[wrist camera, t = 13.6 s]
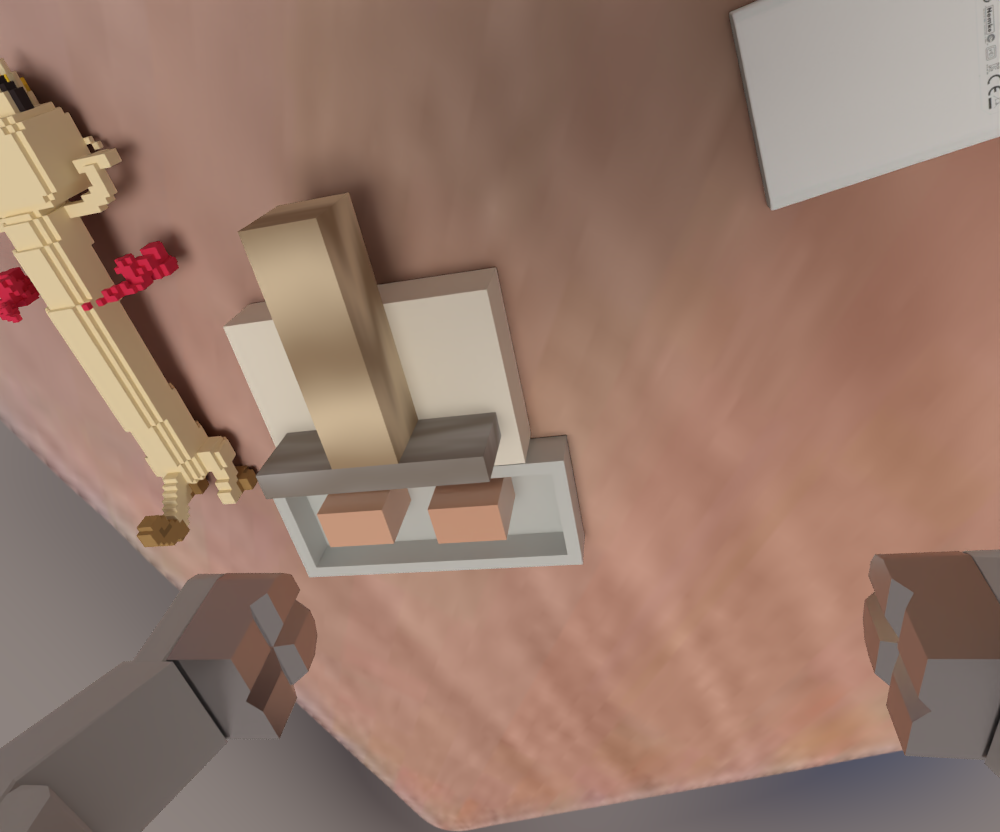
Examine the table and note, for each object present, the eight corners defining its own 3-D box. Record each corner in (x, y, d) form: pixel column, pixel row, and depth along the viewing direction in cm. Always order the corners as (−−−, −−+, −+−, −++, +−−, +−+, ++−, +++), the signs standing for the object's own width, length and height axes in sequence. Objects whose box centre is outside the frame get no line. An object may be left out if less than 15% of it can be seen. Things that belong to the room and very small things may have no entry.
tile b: (427, 509, 38) (438, 543, 39) (497, 504, 37) (506, 539, 38) (442, 467, 41) (452, 499, 42) (507, 461, 40) (515, 495, 42)
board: (249, 304, 38) (223, 326, 35) (496, 267, 34) (486, 289, 32) (310, 453, 43) (291, 482, 40) (531, 432, 39) (525, 463, 37)
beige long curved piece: (298, 458, 45) (87, 35, 31) (241, 560, 38) (-65, 73, 24) (168, 471, 47) (-84, 82, 33) (92, 569, 40) (-268, 129, 26)
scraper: (197, 220, 32) (148, 247, 29) (439, 176, 30) (417, 200, 26) (296, 454, 39) (266, 499, 36) (501, 436, 36) (489, 482, 33)
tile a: (316, 514, 39) (330, 547, 40) (381, 510, 38) (394, 543, 40) (340, 472, 43) (352, 504, 44) (400, 467, 42) (411, 500, 43)
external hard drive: (726, 11, 28) (1088, -140, 24) (765, 203, 32) (1084, 99, 28) (732, 12, 27) (1116, -147, 23) (772, 213, 30) (1109, 105, 26)
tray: (283, 460, 43) (266, 485, 41) (566, 435, 39) (563, 460, 37) (322, 550, 47) (309, 577, 45) (584, 535, 43) (583, 564, 41)
